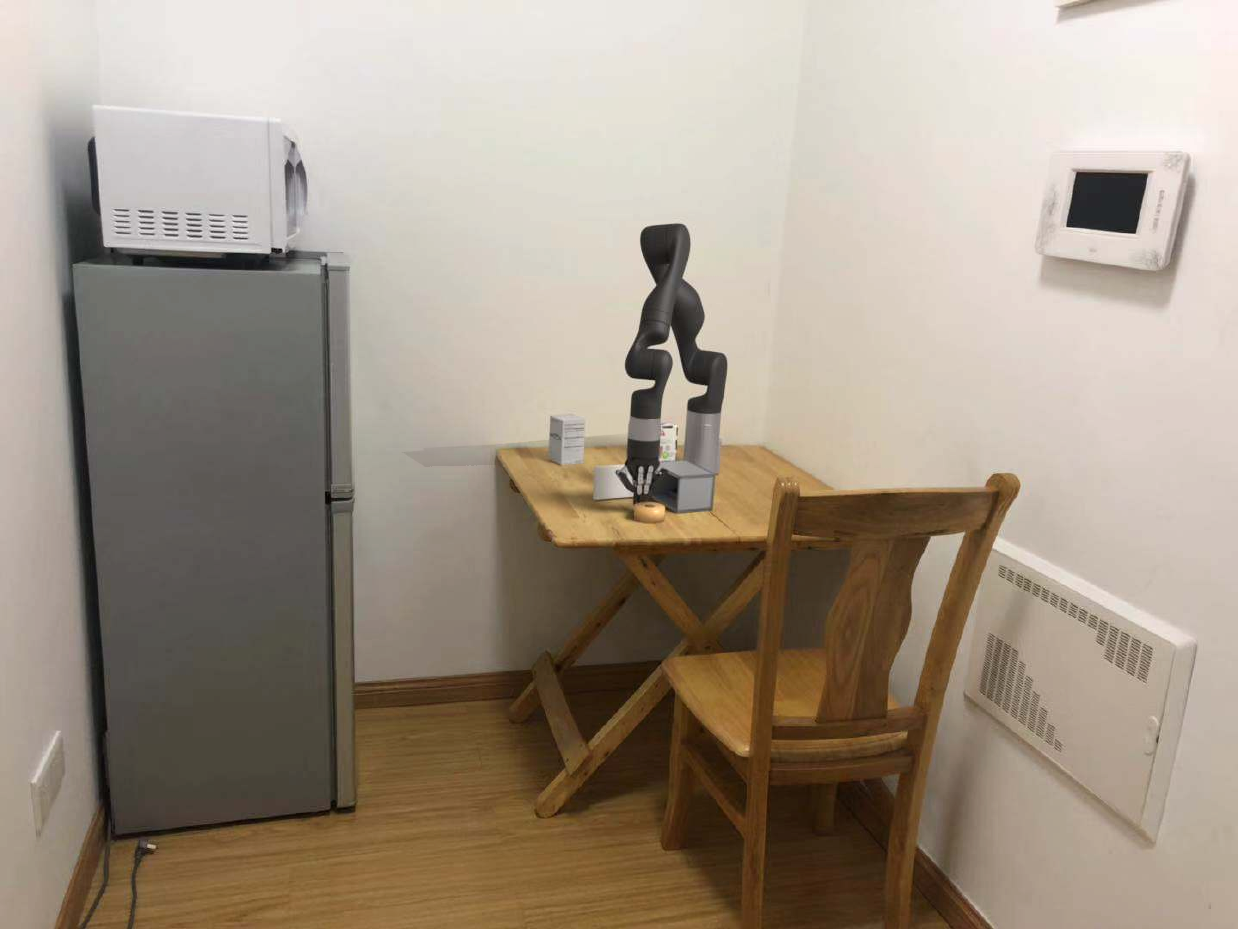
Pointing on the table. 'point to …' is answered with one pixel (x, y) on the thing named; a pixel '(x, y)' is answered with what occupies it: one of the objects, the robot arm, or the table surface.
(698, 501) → the box
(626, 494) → the cover
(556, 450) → the supplement box
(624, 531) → the table surface
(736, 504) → the table surface
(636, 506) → the tan donut
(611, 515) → the table surface
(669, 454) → the candy bar box
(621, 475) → the robot arm
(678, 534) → the table surface
